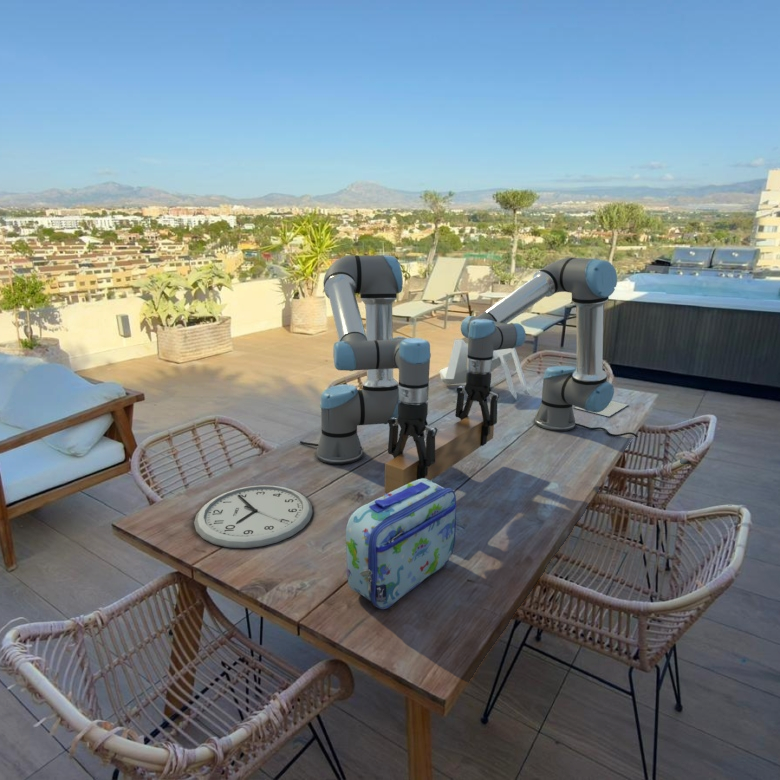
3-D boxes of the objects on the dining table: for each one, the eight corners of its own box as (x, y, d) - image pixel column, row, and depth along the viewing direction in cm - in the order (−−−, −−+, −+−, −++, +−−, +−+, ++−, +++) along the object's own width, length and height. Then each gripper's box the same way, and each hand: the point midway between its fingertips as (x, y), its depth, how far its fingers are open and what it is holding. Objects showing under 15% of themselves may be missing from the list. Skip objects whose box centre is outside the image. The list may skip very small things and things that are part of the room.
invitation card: (608, 416, 214) (573, 407, 224) (608, 416, 214) (573, 408, 224) (628, 404, 229) (594, 396, 238) (628, 405, 229) (594, 397, 238)
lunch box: (375, 622, 100) (376, 527, 94) (339, 595, 108) (338, 505, 101) (459, 565, 118) (465, 481, 112) (424, 545, 125) (427, 465, 119)
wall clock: (308, 539, 124) (178, 544, 121) (308, 545, 124) (179, 550, 122) (315, 481, 152) (209, 483, 150) (315, 486, 153) (210, 488, 150)
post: (477, 433, 172) (478, 409, 170) (493, 438, 169) (495, 413, 167) (384, 492, 134) (385, 463, 132) (402, 500, 131) (403, 469, 128)
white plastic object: (461, 429, 252) (437, 405, 227) (444, 352, 274) (420, 323, 250) (535, 404, 240) (518, 377, 215) (510, 326, 262) (492, 293, 237)
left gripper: (374, 396, 133) (373, 478, 140) (437, 412, 123) (433, 500, 130) (391, 390, 139) (389, 468, 146) (453, 404, 129) (448, 488, 136)
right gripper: (445, 368, 160) (442, 438, 167) (502, 379, 150) (496, 453, 157) (457, 363, 166) (454, 431, 173) (513, 374, 156) (506, 445, 163)
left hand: (410, 483), depth 138 cm, fingers closed on post, 6 cm apart
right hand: (474, 441), depth 165 cm, fingers closed on post, 6 cm apart
